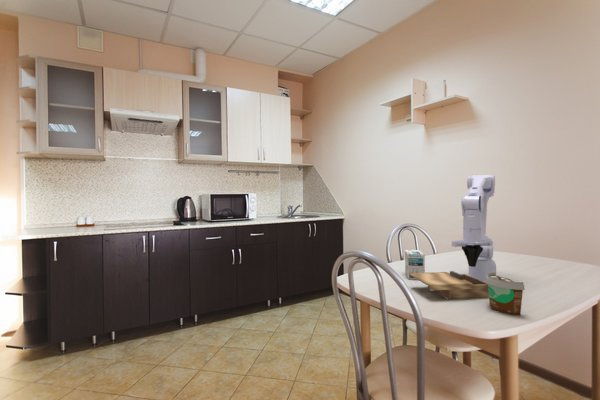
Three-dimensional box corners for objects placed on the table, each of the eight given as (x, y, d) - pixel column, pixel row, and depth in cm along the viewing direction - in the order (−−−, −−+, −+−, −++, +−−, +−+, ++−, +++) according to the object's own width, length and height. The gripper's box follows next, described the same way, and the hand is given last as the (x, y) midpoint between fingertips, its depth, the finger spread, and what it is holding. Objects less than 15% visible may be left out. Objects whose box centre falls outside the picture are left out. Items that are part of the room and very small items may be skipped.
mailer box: (464, 285, 119) (464, 274, 119) (490, 297, 105) (490, 284, 105) (427, 287, 118) (427, 275, 118) (449, 299, 104) (449, 286, 104)
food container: (476, 302, 101) (476, 272, 101) (494, 302, 101) (494, 271, 101) (504, 318, 88) (504, 283, 88) (524, 317, 89) (524, 282, 89)
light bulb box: (425, 280, 127) (425, 254, 127) (408, 279, 128) (408, 253, 128) (420, 273, 137) (420, 249, 137) (404, 273, 139) (404, 249, 139)
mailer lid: (446, 276, 119) (446, 268, 119) (472, 288, 104) (472, 279, 104) (409, 277, 118) (409, 269, 118) (430, 290, 102) (430, 280, 102)
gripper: (460, 230, 107) (460, 269, 107) (498, 229, 108) (498, 268, 109) (448, 228, 114) (448, 264, 114) (484, 227, 115) (484, 263, 116)
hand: (471, 266), depth 112 cm, fingers closed
